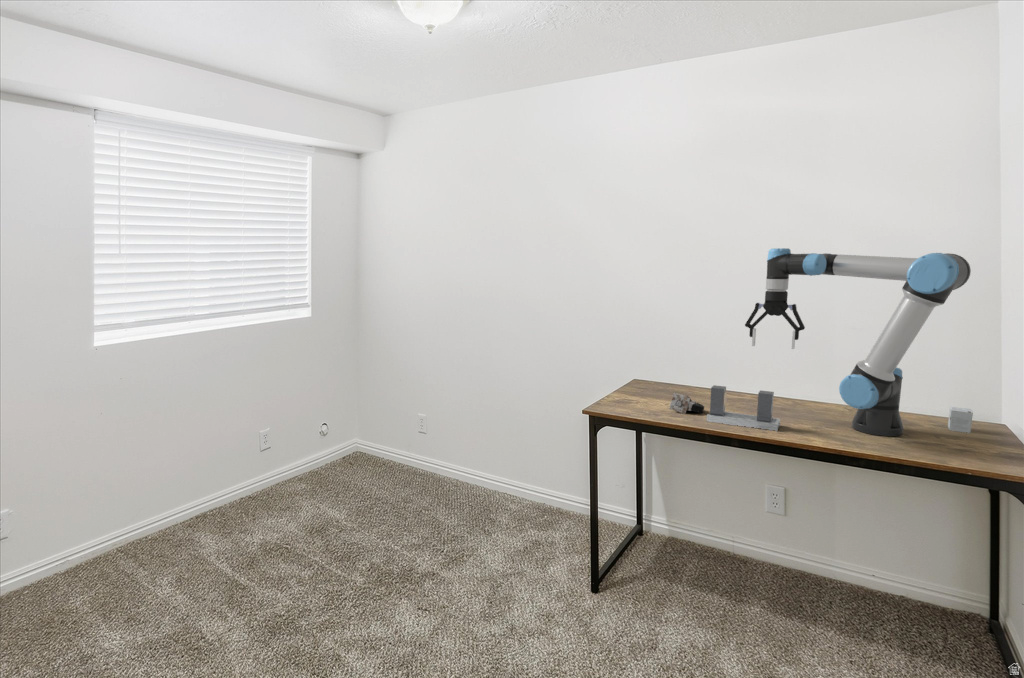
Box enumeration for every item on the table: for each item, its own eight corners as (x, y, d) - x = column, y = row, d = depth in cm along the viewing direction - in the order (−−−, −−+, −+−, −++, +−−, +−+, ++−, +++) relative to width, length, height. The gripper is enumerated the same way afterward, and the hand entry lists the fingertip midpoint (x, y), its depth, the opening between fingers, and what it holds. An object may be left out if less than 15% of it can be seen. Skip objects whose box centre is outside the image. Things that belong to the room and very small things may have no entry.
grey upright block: (771, 421, 205) (773, 391, 203) (770, 424, 201) (772, 394, 199) (757, 419, 207) (759, 390, 205) (755, 422, 203) (757, 392, 202)
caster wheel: (703, 417, 225) (696, 419, 217) (676, 407, 231) (668, 408, 223) (708, 401, 224) (701, 402, 216) (681, 391, 230) (673, 392, 222)
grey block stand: (779, 425, 205) (782, 391, 203) (777, 431, 198) (779, 396, 197) (710, 416, 217) (712, 384, 215) (706, 421, 210) (708, 388, 209)
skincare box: (947, 426, 204) (949, 406, 203) (968, 429, 201) (971, 408, 200) (948, 430, 199) (951, 410, 198) (971, 433, 196) (973, 412, 195)
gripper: (815, 290, 207) (810, 348, 210) (742, 289, 220) (739, 343, 223) (814, 292, 201) (809, 351, 204) (739, 290, 213) (736, 345, 216)
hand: (772, 347), depth 213 cm, fingers open, 13 cm apart
